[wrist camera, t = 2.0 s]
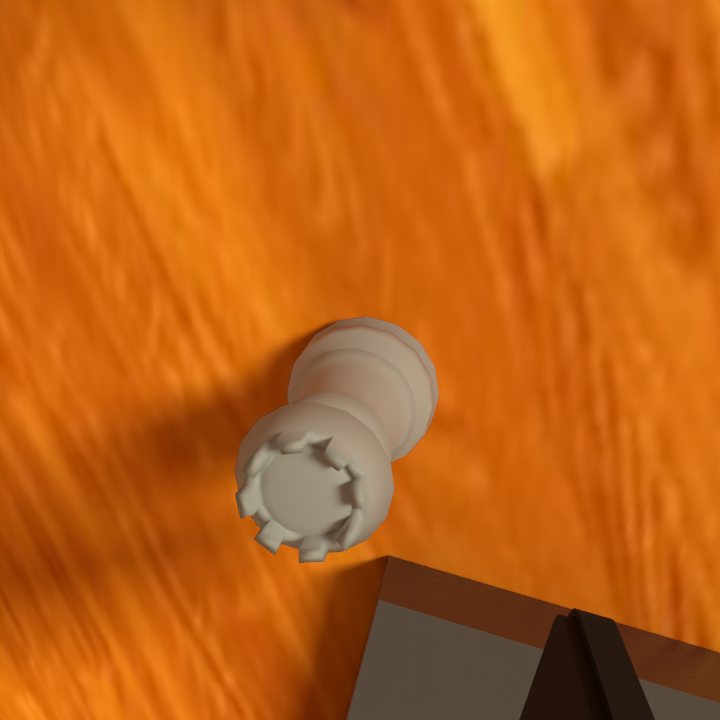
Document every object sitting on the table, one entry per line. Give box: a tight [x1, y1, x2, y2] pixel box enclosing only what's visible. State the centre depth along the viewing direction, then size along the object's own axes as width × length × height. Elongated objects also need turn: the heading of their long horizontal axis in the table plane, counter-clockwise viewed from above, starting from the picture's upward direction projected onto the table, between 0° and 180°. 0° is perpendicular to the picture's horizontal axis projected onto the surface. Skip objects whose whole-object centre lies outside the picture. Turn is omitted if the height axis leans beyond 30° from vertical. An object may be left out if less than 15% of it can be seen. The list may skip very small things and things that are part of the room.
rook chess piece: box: [235, 317, 439, 563], centre depth 15 cm, size 4×4×8 cm
